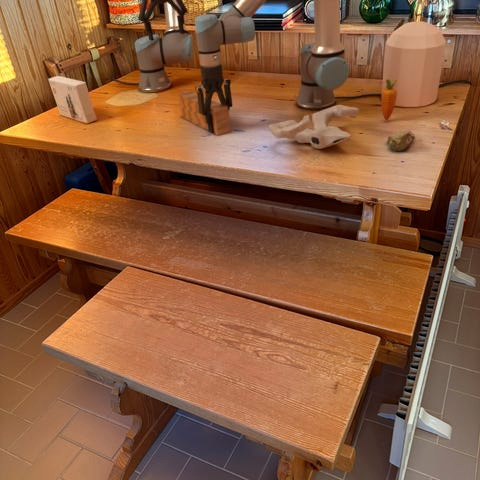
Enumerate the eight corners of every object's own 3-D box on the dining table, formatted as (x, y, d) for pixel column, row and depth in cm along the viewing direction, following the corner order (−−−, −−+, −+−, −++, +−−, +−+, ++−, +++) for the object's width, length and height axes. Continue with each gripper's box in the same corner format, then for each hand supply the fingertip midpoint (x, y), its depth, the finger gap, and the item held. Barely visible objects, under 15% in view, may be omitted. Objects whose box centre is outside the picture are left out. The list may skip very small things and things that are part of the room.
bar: (181, 116, 188) (178, 93, 182) (193, 113, 190) (190, 90, 185) (217, 135, 168) (214, 110, 163) (230, 131, 170) (227, 106, 165)
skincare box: (58, 115, 201) (47, 78, 192) (69, 111, 204) (58, 75, 195) (86, 124, 189) (75, 85, 180) (97, 119, 192) (87, 81, 183)
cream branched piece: (267, 156, 148) (265, 121, 142) (278, 128, 170) (277, 96, 163) (357, 157, 142) (360, 119, 136) (357, 127, 164) (359, 94, 157)
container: (406, 111, 172) (416, 29, 156) (369, 96, 188) (375, 22, 172) (449, 99, 178) (463, 20, 162) (410, 86, 194) (419, 13, 178)
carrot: (394, 118, 167) (398, 76, 158) (393, 123, 163) (397, 80, 154) (379, 117, 168) (383, 75, 160) (378, 122, 165) (382, 80, 156)
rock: (408, 140, 153) (379, 139, 152) (414, 122, 149) (384, 120, 148) (421, 154, 144) (391, 153, 143) (428, 135, 140) (396, 133, 139)
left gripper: (129, -20, 163) (142, 44, 175) (191, -29, 174) (198, 31, 186) (121, -21, 168) (134, 41, 180) (181, -30, 179) (189, 29, 191)
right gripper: (192, 72, 152) (202, 139, 165) (239, 60, 160) (244, 125, 173) (182, 68, 157) (191, 133, 170) (227, 57, 165) (233, 120, 178)
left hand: (166, 36), depth 183 cm, fingers open, 13 cm apart
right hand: (218, 129), depth 171 cm, fingers closed on bar, 5 cm apart
